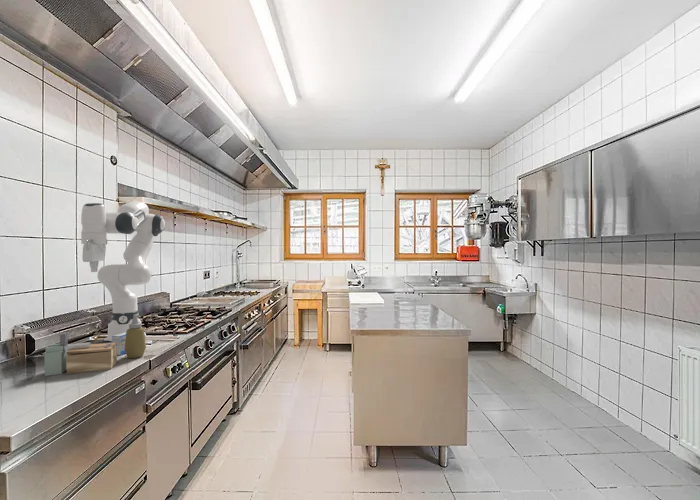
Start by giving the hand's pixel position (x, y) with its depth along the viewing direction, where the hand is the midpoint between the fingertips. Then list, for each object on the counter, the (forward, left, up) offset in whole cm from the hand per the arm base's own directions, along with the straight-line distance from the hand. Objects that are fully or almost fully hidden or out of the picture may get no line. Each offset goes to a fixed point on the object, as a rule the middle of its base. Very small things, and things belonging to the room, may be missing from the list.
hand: (94, 271), depth 151 cm
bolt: (+16, -2, -29) cm, 33 cm away
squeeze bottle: (+6, +16, -37) cm, 41 cm away
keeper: (+16, -8, -37) cm, 41 cm away
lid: (+16, +3, -30) cm, 34 cm away
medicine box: (-3, +10, -37) cm, 39 cm away
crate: (+16, +3, -37) cm, 40 cm away
